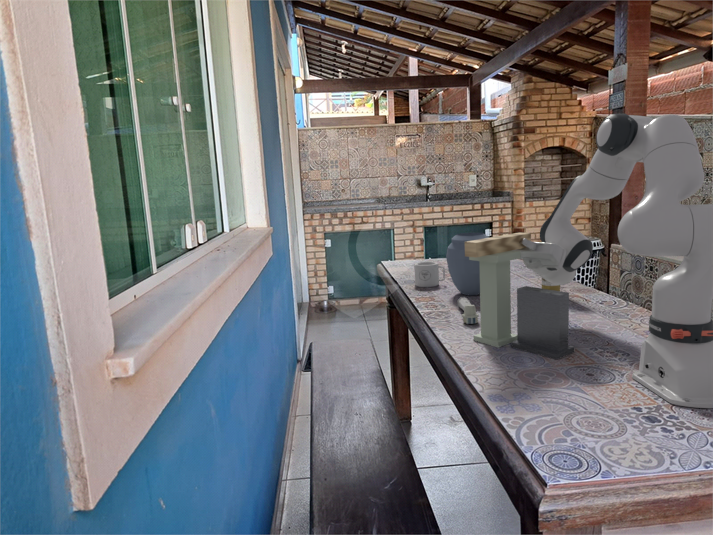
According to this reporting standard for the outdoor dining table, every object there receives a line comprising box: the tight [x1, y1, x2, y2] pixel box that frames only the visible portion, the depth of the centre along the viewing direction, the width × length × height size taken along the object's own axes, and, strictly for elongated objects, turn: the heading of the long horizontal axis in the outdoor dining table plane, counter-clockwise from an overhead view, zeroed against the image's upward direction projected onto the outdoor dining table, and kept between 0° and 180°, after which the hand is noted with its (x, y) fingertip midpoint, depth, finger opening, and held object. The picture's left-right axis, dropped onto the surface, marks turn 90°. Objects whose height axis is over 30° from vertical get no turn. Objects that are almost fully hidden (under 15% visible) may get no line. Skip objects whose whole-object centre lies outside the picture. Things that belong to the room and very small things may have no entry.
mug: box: [413, 260, 446, 288], centre depth 230 cm, size 14×11×10 cm
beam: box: [465, 231, 532, 257], centre depth 146 cm, size 24×4×4 cm, turn 126°
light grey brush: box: [456, 296, 480, 325], centre depth 178 cm, size 5×7×25 cm
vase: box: [445, 232, 490, 296], centre depth 208 cm, size 20×20×24 cm
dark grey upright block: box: [510, 285, 575, 360], centre depth 138 cm, size 8×14×16 cm, turn 36°
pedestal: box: [469, 250, 521, 348], centre depth 148 cm, size 10×10×26 cm
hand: (514, 240), depth 150 cm, fingers closed on beam, 4 cm apart
